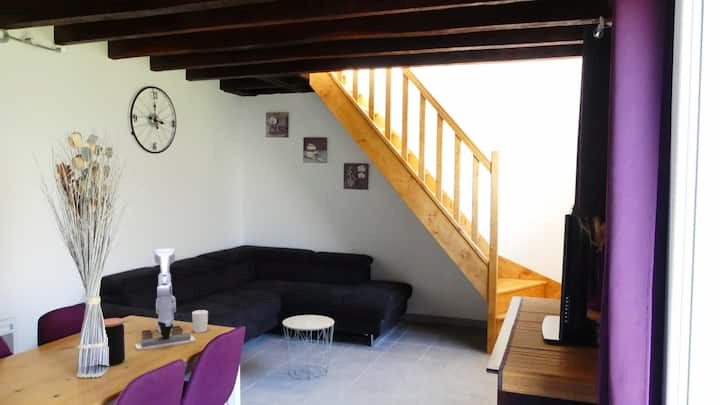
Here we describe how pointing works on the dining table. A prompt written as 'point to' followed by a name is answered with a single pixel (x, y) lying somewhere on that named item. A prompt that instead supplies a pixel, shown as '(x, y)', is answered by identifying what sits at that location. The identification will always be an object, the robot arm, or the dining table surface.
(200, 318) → the white cup
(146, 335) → the rack
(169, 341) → the rail
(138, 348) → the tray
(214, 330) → the dining table surface
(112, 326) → the coffee jar
